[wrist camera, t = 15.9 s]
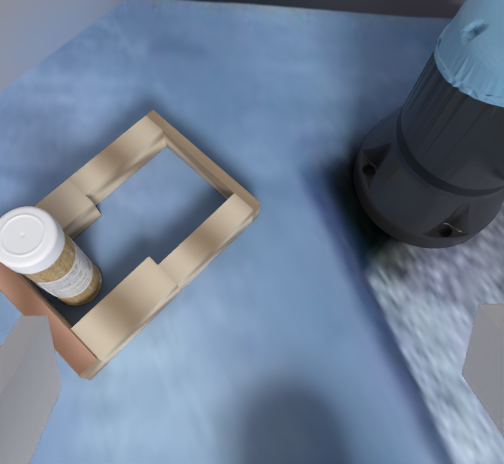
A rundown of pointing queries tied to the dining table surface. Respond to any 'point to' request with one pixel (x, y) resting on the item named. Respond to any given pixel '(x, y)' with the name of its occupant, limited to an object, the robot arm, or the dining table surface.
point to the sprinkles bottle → (47, 256)
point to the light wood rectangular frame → (148, 272)
